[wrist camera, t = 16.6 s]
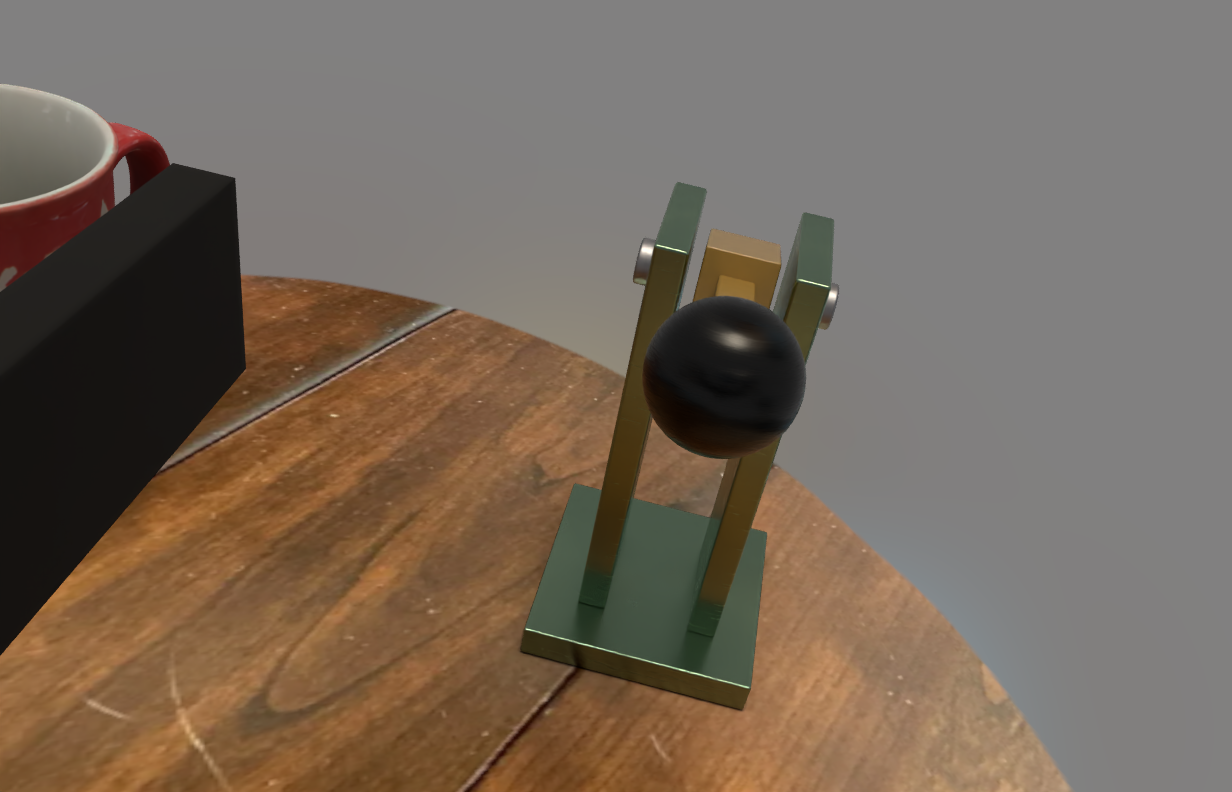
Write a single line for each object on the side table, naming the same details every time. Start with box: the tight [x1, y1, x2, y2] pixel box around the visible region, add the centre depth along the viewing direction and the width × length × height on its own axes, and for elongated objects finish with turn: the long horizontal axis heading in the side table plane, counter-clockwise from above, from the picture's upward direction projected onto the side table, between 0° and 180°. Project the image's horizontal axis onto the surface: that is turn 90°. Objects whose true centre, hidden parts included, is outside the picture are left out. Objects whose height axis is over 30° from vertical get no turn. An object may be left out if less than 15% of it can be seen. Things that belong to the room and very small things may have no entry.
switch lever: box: [642, 229, 806, 459], centre depth 28 cm, size 12×4×4 cm, turn 169°
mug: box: [0, 84, 170, 292], centre depth 37 cm, size 13×9×14 cm
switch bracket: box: [521, 182, 839, 710], centre depth 36 cm, size 8×8×16 cm
